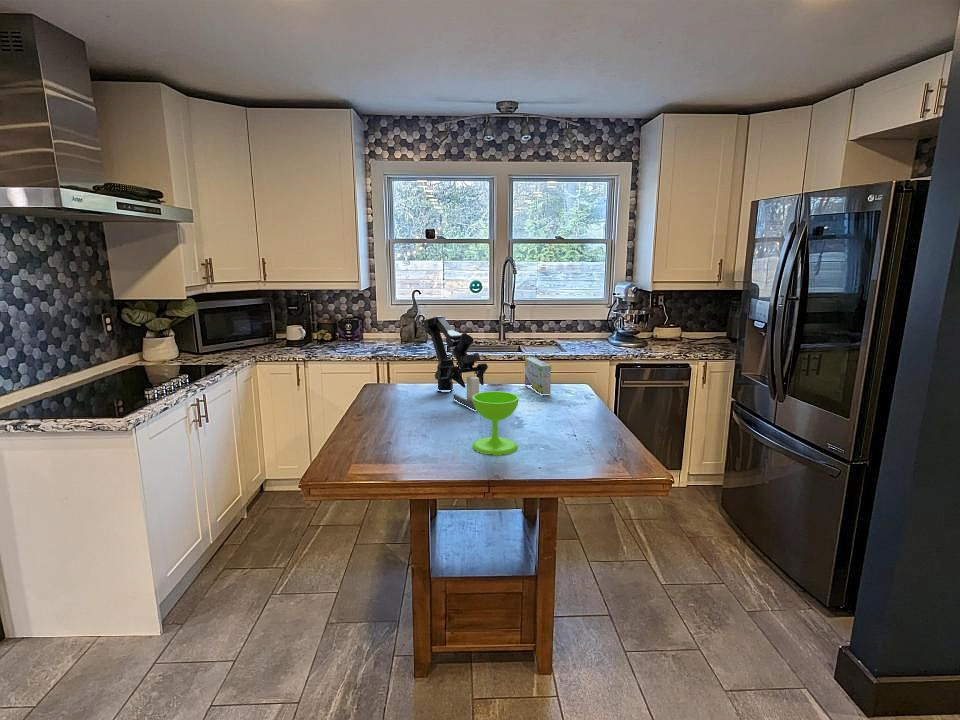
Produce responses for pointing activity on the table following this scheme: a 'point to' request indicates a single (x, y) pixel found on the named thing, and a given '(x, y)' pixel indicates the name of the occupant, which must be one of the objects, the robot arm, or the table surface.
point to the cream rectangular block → (472, 387)
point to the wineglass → (495, 420)
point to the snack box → (538, 375)
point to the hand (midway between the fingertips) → (473, 386)
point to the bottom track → (464, 401)
